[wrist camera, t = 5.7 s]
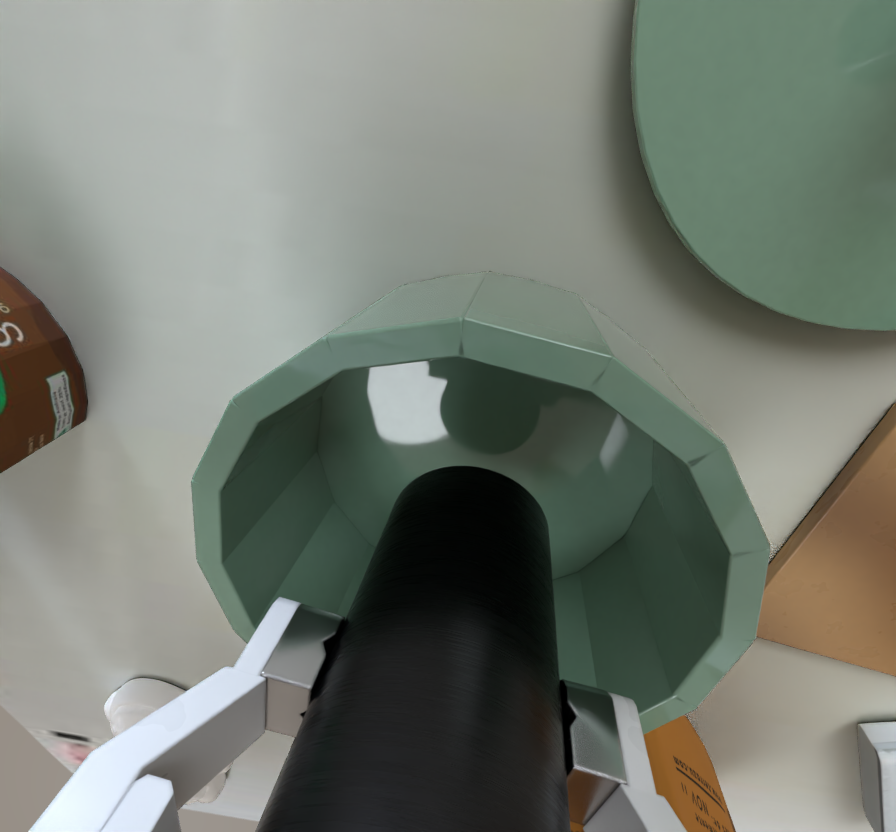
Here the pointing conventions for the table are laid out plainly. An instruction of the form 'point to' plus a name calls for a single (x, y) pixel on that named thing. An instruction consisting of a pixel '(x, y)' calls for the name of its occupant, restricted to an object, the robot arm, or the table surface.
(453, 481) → the tin
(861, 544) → the trivet
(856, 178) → the lid
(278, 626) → the robot arm
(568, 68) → the table surface
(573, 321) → the pot
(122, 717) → the white flat figurine
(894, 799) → the hard drive
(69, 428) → the food container
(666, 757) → the coffee package
